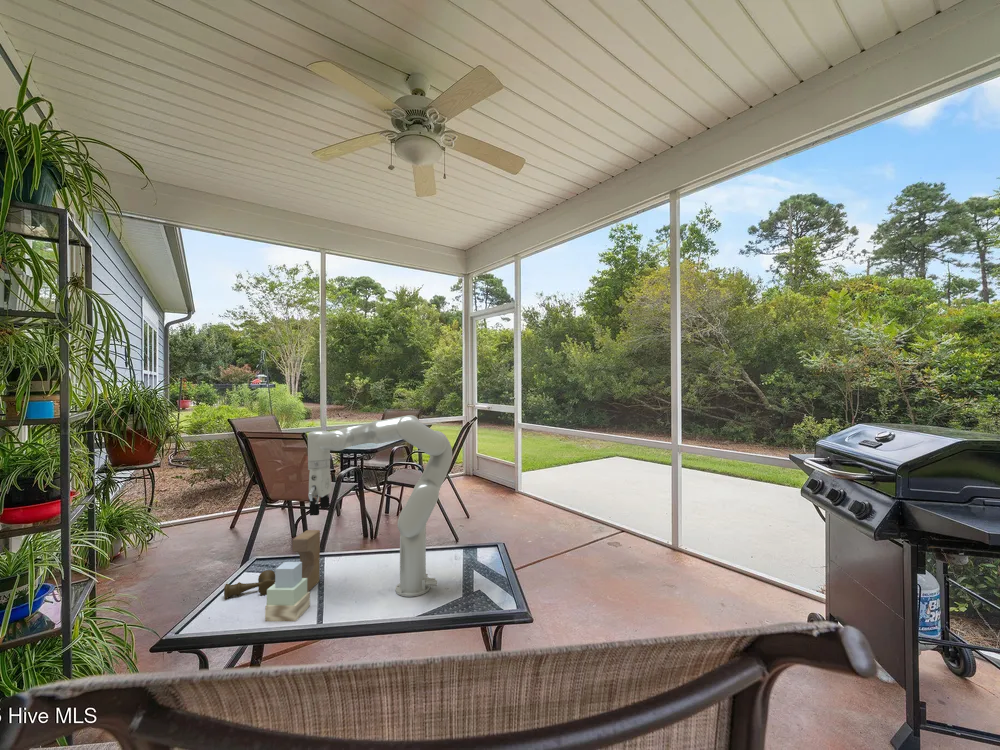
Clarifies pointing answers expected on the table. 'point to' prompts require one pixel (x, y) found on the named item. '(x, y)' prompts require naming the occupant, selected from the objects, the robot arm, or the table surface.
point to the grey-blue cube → (288, 574)
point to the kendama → (252, 585)
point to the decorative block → (309, 555)
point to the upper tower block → (286, 594)
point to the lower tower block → (287, 610)
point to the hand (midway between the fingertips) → (319, 511)
